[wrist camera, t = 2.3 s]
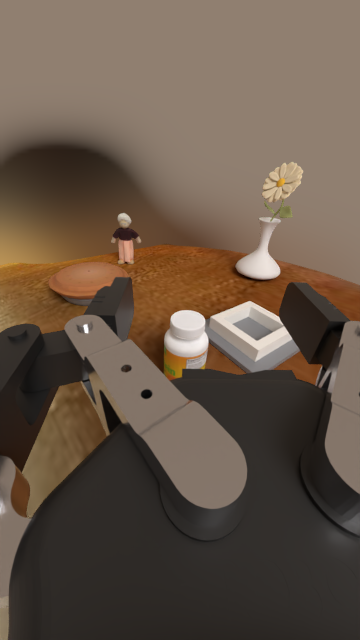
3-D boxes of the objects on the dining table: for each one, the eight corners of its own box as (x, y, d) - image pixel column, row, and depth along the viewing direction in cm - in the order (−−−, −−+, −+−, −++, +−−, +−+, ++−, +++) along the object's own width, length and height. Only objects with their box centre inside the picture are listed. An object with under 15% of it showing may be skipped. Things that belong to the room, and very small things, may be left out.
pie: (144, 289, 53) (143, 269, 50) (87, 321, 42) (81, 297, 39) (97, 272, 59) (94, 253, 57) (37, 295, 49) (30, 273, 46)
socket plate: (192, 328, 41) (193, 314, 40) (245, 306, 48) (248, 293, 47) (255, 380, 32) (261, 364, 31) (309, 344, 39) (316, 329, 38)
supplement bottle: (157, 370, 33) (156, 312, 27) (190, 359, 35) (196, 303, 30) (174, 399, 29) (177, 339, 24) (210, 385, 31) (221, 326, 26)
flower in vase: (228, 266, 66) (246, 159, 52) (265, 265, 68) (293, 162, 54) (247, 288, 56) (276, 160, 41) (290, 286, 57) (333, 163, 43)
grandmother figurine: (114, 265, 63) (108, 215, 56) (113, 260, 66) (107, 211, 59) (142, 264, 65) (140, 214, 58) (140, 259, 68) (138, 211, 61)
